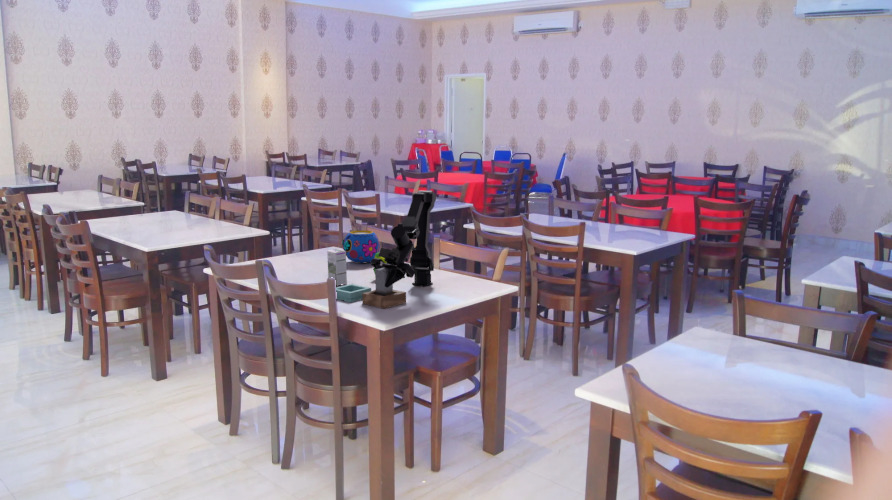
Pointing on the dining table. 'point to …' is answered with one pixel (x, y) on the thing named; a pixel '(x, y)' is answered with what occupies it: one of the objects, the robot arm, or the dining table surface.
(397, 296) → the bore block
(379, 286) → the square axle
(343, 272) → the syrup box
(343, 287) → the cradle
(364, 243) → the ceramic pot
